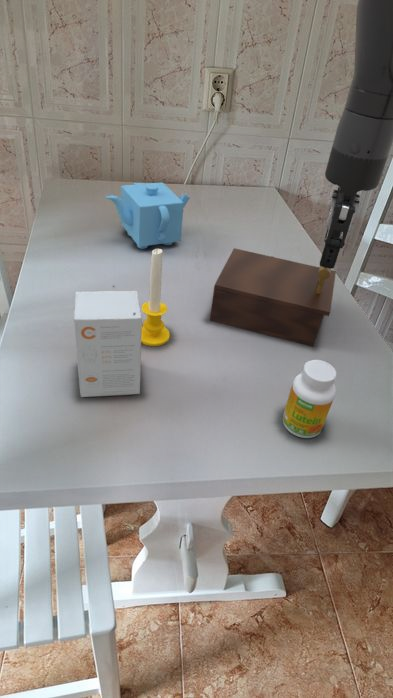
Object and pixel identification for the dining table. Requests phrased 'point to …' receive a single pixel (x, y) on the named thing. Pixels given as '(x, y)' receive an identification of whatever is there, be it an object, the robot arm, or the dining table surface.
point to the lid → (278, 281)
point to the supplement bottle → (310, 399)
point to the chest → (265, 317)
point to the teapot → (150, 213)
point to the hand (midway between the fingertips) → (328, 254)
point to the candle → (154, 306)
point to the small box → (108, 342)
